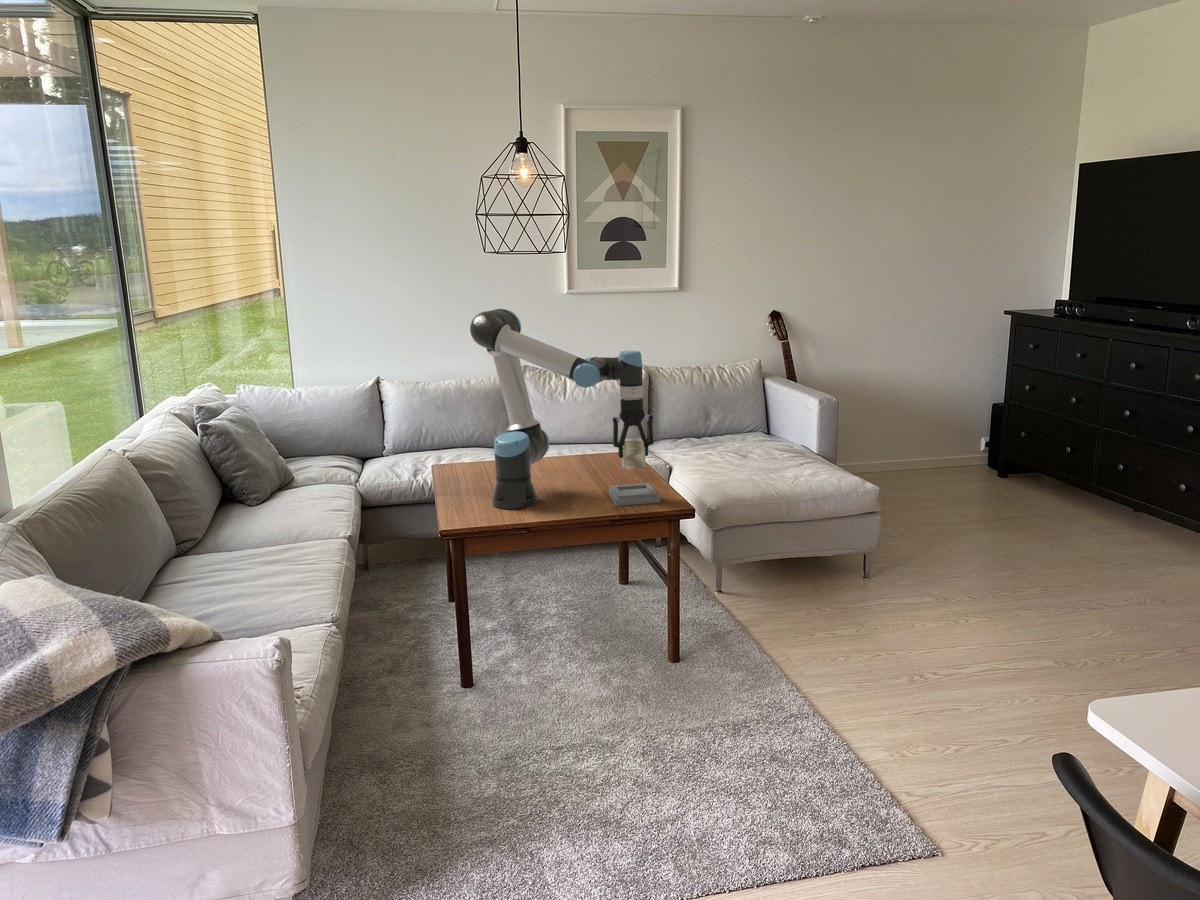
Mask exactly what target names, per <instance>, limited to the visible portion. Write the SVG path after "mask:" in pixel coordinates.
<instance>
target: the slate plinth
mask: <svg viewBox="0 0 1200 900" xmlns="http://www.w3.org/2000/svg"><path fill="white" fill-rule="evenodd" d="M608 495H609V496H610V498H611V500H612V502H613V503H614V506H615V507H617V506H619V507H620V506H633V505H645V504H646V505H647V504H657V503H658V504H660V503H662V502H661V501H662V500H661V495H660V494H659V493H658V492H657V491H656V489H655V488H654V487H653V485H652V484H650V483H637V484H635V483H634V484H624V485H623V484H619V485H611V487H609V488H608Z"/></svg>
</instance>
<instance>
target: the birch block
mask: <svg viewBox="0 0 1200 900" xmlns="http://www.w3.org/2000/svg"><path fill="white" fill-rule="evenodd" d="M623 447H624V448H625V461H626V468H625V470H637V469H639V470H641V469H645V466H644V442H643V441H642V439H641V437H639V438H638V437H637V438H625V442H624V445H623Z"/></svg>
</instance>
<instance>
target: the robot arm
mask: <svg viewBox="0 0 1200 900" xmlns="http://www.w3.org/2000/svg"><path fill="white" fill-rule="evenodd" d="M521 331H522V324H521V321H520V318H519V317H518V316H517V314H516V313H515V312H513V311H512V310H509V309H507V308H506V309H505V308H497V309H493V310H486V311H485V310H484V311H481V312H480V313H478V314H476V315H475V316H474V317H473V319H472V320H471V323H470V327H469V332H470V335H471V338H472V340H473V341H474V342H475V343H476V344H477V345H479V346H481V347H482V348H485V349H486V352H487V353H488V354H489V355H490V356H492V357H493V362H494V365H495V369H496V374H497V377H498V381H499V385H500V386H499V387H500V390H501V393H502V397H503V398H502V399H503V401H504V405H505V409H506V413H507V417H508V422H509V425H508V427H507V429H506V431H507V432H503V433H501V434H499V435H498V436H496V437H495V439H494V442H493V443H494V444H493V452H494V463H495V464H494V465H495V478H496V479H495V480H496V481H495V485H494V489H493V490H494V491H493V494H492V498H491V502H492V505H493V506H494V507H495V508H498V509H502V510H503V509H505V510H519V509H524V508H529V507H532V506H534V505H536V504H537V503H538V494H537V491H536V489H535V486H534V483H533V481H532V474H531V466H532V465H533V464H536V463H537V462H538V461H540V460H542V459H543V458H544V457H545V455H547V453H548V451H549V448H550V440H549V437H548V436H549V435H548V434H547V432H545V431H544V430H543V429H542V427H541V423H540V421H539V420H538V419H536V418H535V416H534V413H533V409H532V404H531V400H530V397H529V391H528V389H527V385H526V381H525V376H524V372H523V368H522V364H521V360H523V361H526V362H529V363H531V364H533V365H535V366H538V367H540V368H543V369H545V370H548V371H550V372H553V373H555V374H557V375H560V376H563V377H565V378H567V379H569V380H572V381H574V382H575V385H577V386H579V387H580V388H592V387H594V386H596V385H597V384H600V383H601V382H603V381H619V395H620V396H619V397H620V411H619V412H620V413H619V415H617V416H612V417H611V420H612V424H613V425H612V427H613V428H612V430H613V431H612V445H613V447H614V448H618V457H619V458H621V466H622V468H624V469H626V461H625V448H624V447H623V445H624V442H625V439H627V438H626V437H627V434H628V432H629V431H628V430H629V428H630V427H633V426H635V427H636V428H637V430H638V432H639V436H640V438H641V440H642V441H643V442H644V467H646V466H647V465H646V457H648V455H649V446H650V445H653V444H654V435H653V423H652V422H653V419H654V416H653V415H652V414H647V413H645V412H644V399H643V396H644V389H643V387H644V386H643V385H644V383H643V359H642V357H643V356H642V352H640V351H639V350H622V351H619V352H618V356H616V357H609V356H608V357H607V356H606V357H602V356H601V357H599V356H593V357H586V358H581V357H579V356H577V355H576V354H573V353H570V352H567V351H565V350H562V349H561V348H558V347H556V346H553V345H550V344H548V343H545V342H542V341H540V340H538V339H535V338H533V337H530V336H528V335H526V334H524V333H521ZM644 419H645V421H646V430H647V438H648V439H647V438H646V434H645V431H644V429H643V426H642V422H643V420H644ZM620 420H621V421H622V422H623V426H622V430H621V432H620V438H619V424H620ZM618 438H619V439H618ZM618 440H619V441H618Z"/></svg>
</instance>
